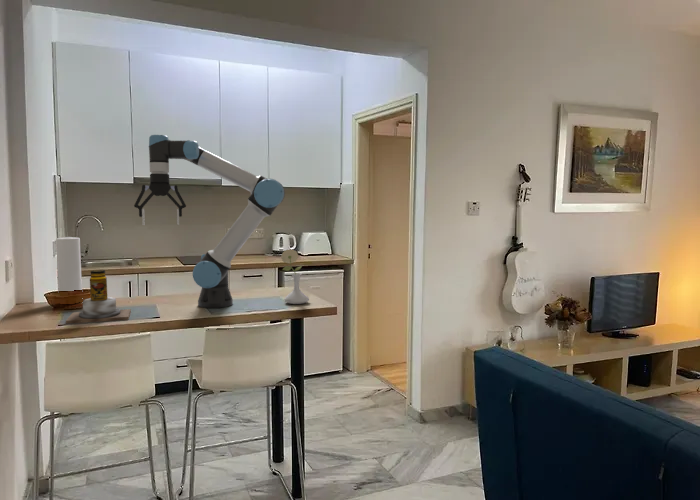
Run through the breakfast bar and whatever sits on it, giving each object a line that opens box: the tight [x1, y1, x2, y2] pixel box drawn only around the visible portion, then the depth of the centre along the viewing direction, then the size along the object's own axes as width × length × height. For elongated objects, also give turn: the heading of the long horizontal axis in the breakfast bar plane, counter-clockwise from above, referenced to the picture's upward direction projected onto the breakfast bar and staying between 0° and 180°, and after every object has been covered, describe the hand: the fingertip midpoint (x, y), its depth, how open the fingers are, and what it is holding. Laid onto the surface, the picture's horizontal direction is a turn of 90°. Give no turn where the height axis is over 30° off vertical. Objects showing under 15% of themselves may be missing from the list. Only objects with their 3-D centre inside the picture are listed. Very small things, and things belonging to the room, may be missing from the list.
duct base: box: [65, 296, 132, 325], centre depth 211 cm, size 22×15×7 cm
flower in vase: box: [280, 248, 310, 305], centre depth 241 cm, size 13×11×25 cm
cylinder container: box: [55, 236, 83, 292], centre depth 239 cm, size 9×9×30 cm
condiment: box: [85, 269, 110, 302], centre depth 210 cm, size 7×8×12 cm
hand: (161, 224), depth 219 cm, fingers open, 13 cm apart
